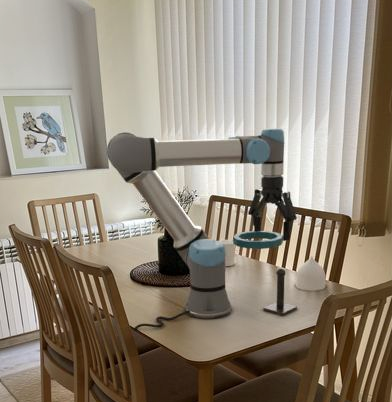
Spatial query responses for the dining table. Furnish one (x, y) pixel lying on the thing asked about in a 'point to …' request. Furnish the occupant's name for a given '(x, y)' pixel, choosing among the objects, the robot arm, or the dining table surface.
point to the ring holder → (280, 297)
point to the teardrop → (310, 276)
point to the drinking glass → (229, 252)
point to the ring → (274, 241)
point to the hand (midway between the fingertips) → (271, 237)
